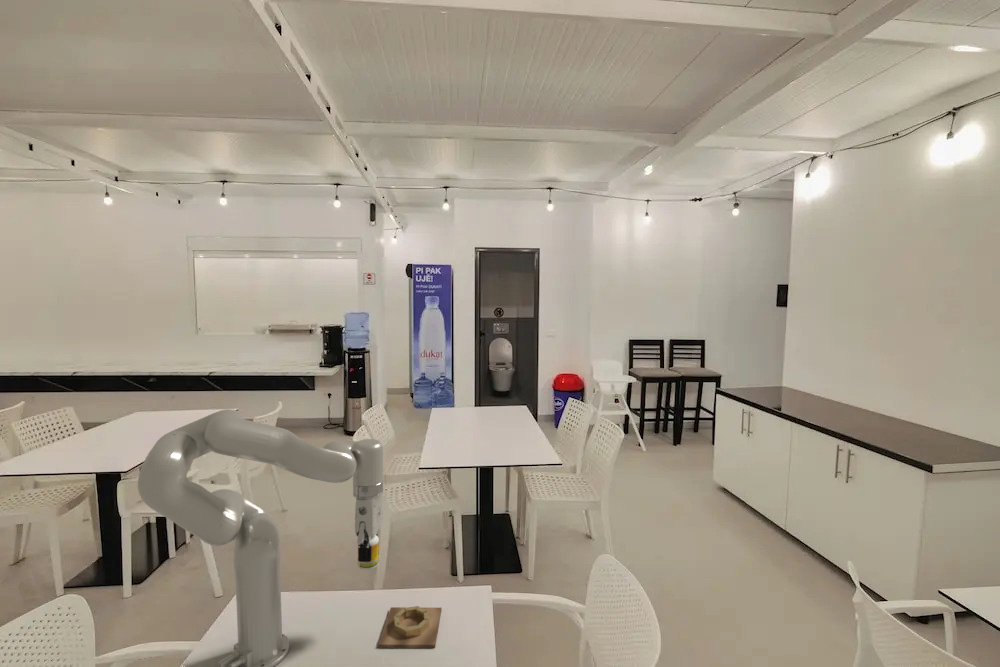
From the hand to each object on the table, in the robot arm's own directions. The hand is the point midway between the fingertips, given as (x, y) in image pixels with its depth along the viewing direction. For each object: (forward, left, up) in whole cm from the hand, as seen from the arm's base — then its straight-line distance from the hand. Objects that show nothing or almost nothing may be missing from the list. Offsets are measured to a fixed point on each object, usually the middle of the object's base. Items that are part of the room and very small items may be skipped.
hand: (368, 554), depth 126 cm
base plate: (+4, -11, -19) cm, 22 cm away
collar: (+4, -11, -19) cm, 22 cm away
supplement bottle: (0, 0, -3) cm, 3 cm away
